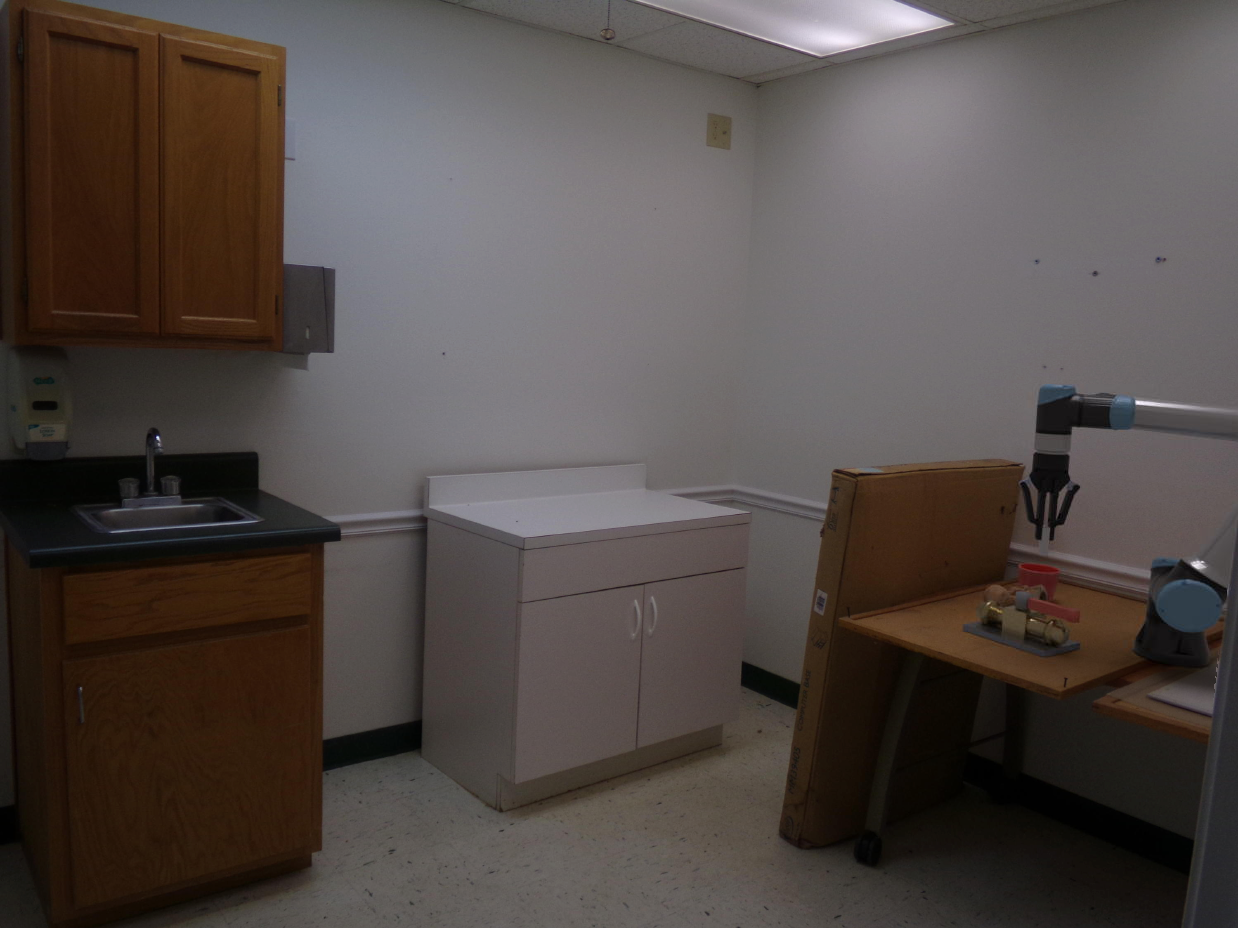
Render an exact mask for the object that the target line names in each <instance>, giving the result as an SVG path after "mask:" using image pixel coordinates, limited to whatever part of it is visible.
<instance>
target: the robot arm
mask: <svg viewBox="0 0 1238 928" xmlns="http://www.w3.org/2000/svg"><path fill="white" fill-rule="evenodd" d="M1036 405H1037V406H1036V418H1035V421H1036V422H1035V432H1034V433H1035V434H1034V443H1033V449H1034V450H1035V452H1034V453H1032V465H1031V467H1032V468H1031V472H1030V473H1029V476H1028V477H1027V478H1025V479H1023V480H1018V486H1019V487H1020V489H1021V490H1022V497H1023V502H1024V506H1025V513H1026V519H1027V521H1028V522H1029V523H1031V524H1033V525H1035V533H1034V538H1035V540H1036V541H1038V550H1037V553H1038V554H1039V555H1040V556H1049V545H1050V542H1053V541H1054V540H1055V531H1056V528H1057V527H1058V526H1064V525H1065V523H1066V520H1067V517H1068V515H1069V511H1070V508H1071V506H1072V504H1073V500H1074V497H1075V495H1076V494H1077V493H1078V491H1079V490H1080V489H1081V485H1079V484H1078V483H1076V482H1074V481H1073V480H1071V477H1070V474H1069V469H1070V461H1071V460H1070V457H1071V456H1070V454H1068V453H1070V452H1071V446H1072V445H1071V444H1072V435H1073V434H1072V433H1073V428H1079V429H1080V428H1084V429H1085V428H1087V429H1096V430H1098V429H1101V430H1113V431H1128V430H1135V431H1136V430H1137V431H1146V432H1153V433H1161V434H1162V433H1163V434H1169V435H1180V436H1187V437H1196V438H1202V439H1203V438H1204V439H1211V440H1220V441H1227V442H1228V441H1229V442H1238V406H1229V405H1219V404H1211V403H1210V404H1209V403H1199V402H1192V401H1181V400H1170V399H1159V398H1153V397H1152V398H1149V397H1142V396H1140V397H1139V396H1129V395H1122V394H1121V395H1120V394H1113V393H1108V392H1099V393H1095V394H1084V393H1077V390H1076V385H1073V384H1060V383H1059V384H1058V383H1056V384H1054V383H1053V384H1052V383H1046V384H1043V385H1041V386H1040V387H1039V391H1038V397H1037V404H1036ZM1031 484H1032V485H1033V486H1034V488H1035V489H1036V491H1037V501H1036V510H1035V511H1036V512H1035V511H1034V505H1033V500H1032V499H1033V498H1032V493H1031V491H1030V488H1031V487H1032V485H1031ZM1065 487H1066V493H1065V495H1064V497H1063V501H1062V502H1061V506H1060V509H1059V511H1058V503H1059V496H1060V492H1061V491H1062V490H1063V489H1064V488H1065ZM1048 493H1049V494H1048ZM1047 494H1048V495H1049V503H1048V511H1047V512H1048V514H1047V515H1048V516H1047V525H1045V514H1046V513H1045V510H1046V502H1047V501H1046V499H1047ZM1035 513H1036V514H1035ZM1057 514H1058V515H1057ZM1237 514H1238V501H1237V502H1236V503H1235V504H1234V505H1233V507H1232V508H1231V509H1230V511H1229V512H1228V513H1227V514H1226V515H1225V517H1224V518H1223V519H1222V521H1220V523H1219V524H1218V525H1217V527H1216V528H1215V529H1214V530H1213V532H1212V533H1211V534H1210V535H1209V537H1208V538H1207V539H1206V540H1205V541H1204V543H1203V544H1202V545H1201V547H1200V548H1199V549H1198V551H1196V553H1195V554H1193V555H1188V556H1182V557H1181V558H1173V557H1162V556H1161V557H1159V556H1158V557H1155V558H1153V560H1152V562H1151V567H1150V568H1149V569H1150V578H1149V587H1148V592H1147V594H1148V595H1147V603H1146V612H1145V620H1144V621H1143V623H1142V625H1141V627H1140V629H1139V631H1138V633H1137V635H1136V636H1135V639H1134V641H1133V652H1134V653H1135V654H1137V655H1139V656H1141V657H1143V658H1145V659H1148V660H1151V661H1155V662H1158V663H1161V664H1162V663H1163V664H1167V665H1172V666H1178V667H1187V668H1188V667H1189V668H1190V667H1192V668H1195V667H1196V668H1197V667H1198V668H1199V667H1205V666H1208V665H1209V664H1210V656H1211V655H1210V647H1209V645H1208V641H1207V637H1206V633H1205V631H1207V630H1210V629H1211V628H1213V627H1214V626H1215V625H1216V624H1217V623H1218V622H1219V620H1220V619H1221V616H1222V613H1223V610H1224V609H1223V608H1224V607H1223V606H1225V604H1226V603H1227V602H1226V599H1227V589H1228V581H1229V572H1230V567H1231V558H1232V553H1233V547H1234V539H1235V527H1236V517H1237Z"/></svg>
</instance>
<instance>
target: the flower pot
mask: <svg viewBox="0 0 1238 928" xmlns="http://www.w3.org/2000/svg"><path fill="white" fill-rule="evenodd" d="M1060 576H1061V570H1060V569H1059V568H1057V567H1054V566H1051V565H1046V564H1041V563H1040V564H1039V563H1021V564H1018V580H1019V588H1020V587H1021V586H1025V585H1026V586H1028V587H1033V586H1037V585H1043V586H1044V587H1045V589H1046V592H1047V596H1048V602H1050V603H1053V602H1052V601H1053V598H1054V595H1055V593H1056V589H1057V586H1058V583H1059V579H1060Z"/></svg>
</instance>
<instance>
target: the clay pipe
mask: <svg viewBox="0 0 1238 928" xmlns="http://www.w3.org/2000/svg"><path fill="white" fill-rule="evenodd" d="M1016 592H1028V593H1031V594H1032V598H1036V599H1039V600H1043V601H1046V602H1048V596H1047V592H1046V589H1045V587H1044V586H1043V585H1037V586H1033V587H1028V586H1026V585H1025V586H1021V587H1020V586H1019V587H1017V586H1011V587H1009V588H1008V590H1007V589H1006V588H1004V587H1003V586H1001V585H1000V584H992V585H989V586H988V587H986V588H985V590H984V592H983V595H982V602H987V601H988V600H993V601H996V602H998V603H999V604H1000V607H1003V608H1004V607H1009V606H1014V605H1015V599H1016ZM1047 616H1048V615H1047V614H1044V613H1041V619H1044V620H1047Z"/></svg>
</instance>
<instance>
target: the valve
mask: <svg viewBox="0 0 1238 928" xmlns="http://www.w3.org/2000/svg"><path fill="white" fill-rule="evenodd" d="M975 614H976V618H978V619H979V620H980V621H979V620H978V621H975V622H969V623H964V624H962V631H964V632H967V633H968V634H969V633H970V634H973V635H976V636H979V637H982V638H984V639H987V638H988V639H987V640H990V639H991V641H994V642H996V641H997V643H1000V644H1002V643H1003V645H1006V646H1009V647H1012V648H1014V649H1018V650H1021V651H1024V652H1027V653H1030V654H1032V655H1036V656H1038V657H1043V658H1048V657H1051V656H1055V655H1060V654H1064V653H1068V652H1071V651H1072V652H1073V651H1077V650H1080V649H1081V642H1079V641H1077V640H1073V639H1069V638H1070V635H1071V631H1070V627H1068V626H1066V625H1065V623H1064V622H1063V620H1062V619H1060V618H1056V617H1053V618H1051V619H1049V620H1047V619H1046V620H1044V619H1041V612H1037V611H1034V610H1021V609H1017V608H1015V605H1014V606H1009V607H1004V608H1003V607H1000V604H999V603H998V602H996V601H993V600H988V601H987V602H984V601H982V602H980V603H979V604H978V606H977V607H976V613H975Z"/></svg>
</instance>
